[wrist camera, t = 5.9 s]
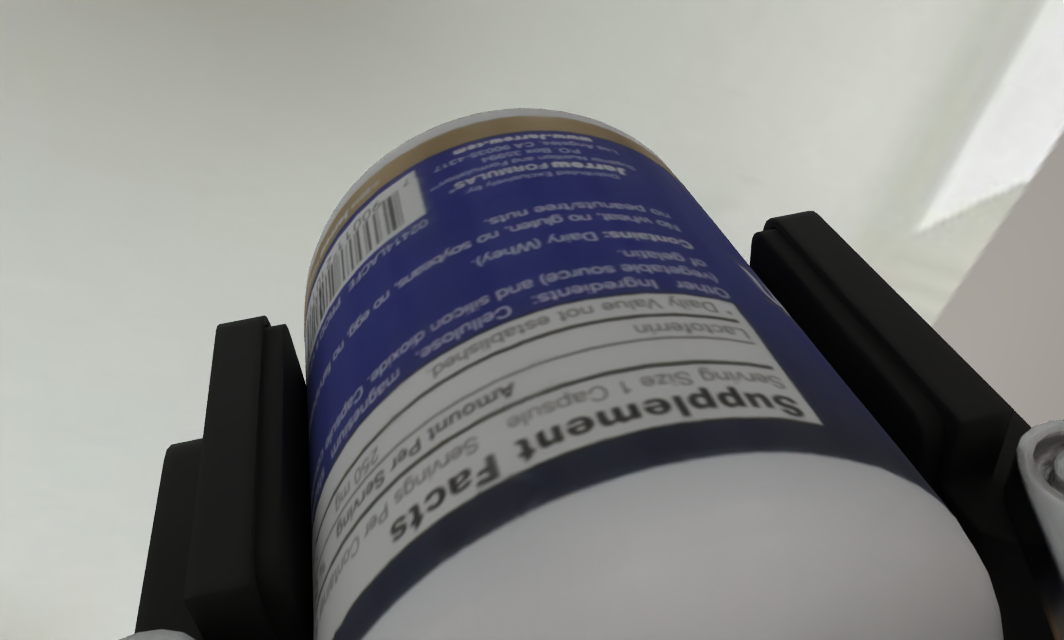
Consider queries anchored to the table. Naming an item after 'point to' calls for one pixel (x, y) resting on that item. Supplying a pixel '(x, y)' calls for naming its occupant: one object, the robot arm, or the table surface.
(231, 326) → the robot arm
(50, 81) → the table surface
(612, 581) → the pill bottle
